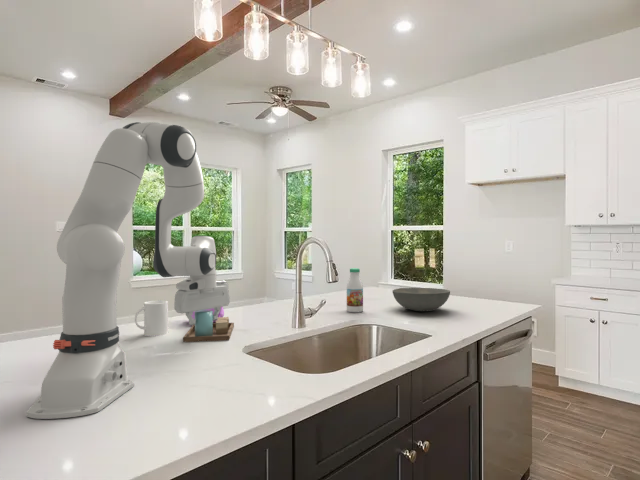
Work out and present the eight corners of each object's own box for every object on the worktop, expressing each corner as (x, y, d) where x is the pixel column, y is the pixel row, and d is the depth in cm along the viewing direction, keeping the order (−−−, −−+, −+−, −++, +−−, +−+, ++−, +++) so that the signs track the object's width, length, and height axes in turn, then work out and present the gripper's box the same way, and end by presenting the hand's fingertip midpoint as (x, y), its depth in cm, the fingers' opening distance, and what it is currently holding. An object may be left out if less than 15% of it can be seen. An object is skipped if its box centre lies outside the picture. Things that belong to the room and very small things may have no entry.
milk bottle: (343, 310, 188) (343, 268, 188) (357, 309, 192) (357, 267, 191) (351, 313, 181) (351, 269, 181) (366, 311, 185) (366, 268, 184)
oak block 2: (227, 333, 144) (227, 322, 144) (216, 334, 143) (216, 322, 143) (226, 330, 148) (226, 319, 148) (215, 331, 147) (215, 320, 147)
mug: (138, 340, 137) (137, 306, 137) (130, 336, 143) (130, 302, 143) (172, 335, 145) (172, 302, 144) (164, 330, 151) (163, 299, 151)
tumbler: (207, 340, 135) (207, 313, 135) (191, 339, 136) (191, 312, 136) (215, 335, 141) (215, 310, 141) (200, 334, 142) (200, 309, 142)
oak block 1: (228, 329, 149) (228, 319, 149) (217, 330, 148) (217, 319, 148) (228, 327, 153) (228, 316, 153) (217, 328, 152) (217, 317, 152)
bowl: (389, 314, 179) (389, 292, 179) (395, 304, 204) (395, 284, 204) (450, 317, 171) (450, 294, 171) (449, 306, 196) (449, 286, 196)
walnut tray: (229, 341, 135) (229, 335, 135) (183, 343, 133) (183, 337, 133) (233, 328, 155) (233, 322, 155) (193, 329, 153) (193, 324, 153)
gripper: (222, 279, 148) (223, 316, 148) (171, 284, 133) (172, 326, 133) (233, 280, 144) (233, 318, 144) (181, 286, 128) (182, 329, 129)
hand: (203, 322), depth 138 cm, fingers open, 8 cm apart
